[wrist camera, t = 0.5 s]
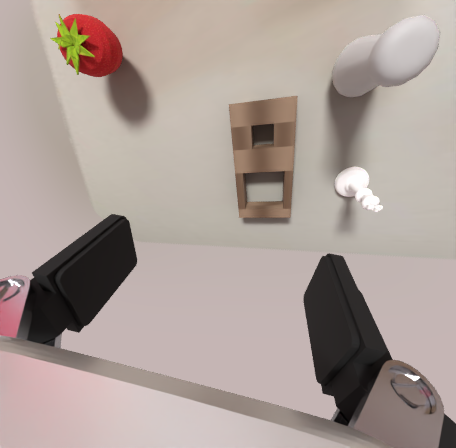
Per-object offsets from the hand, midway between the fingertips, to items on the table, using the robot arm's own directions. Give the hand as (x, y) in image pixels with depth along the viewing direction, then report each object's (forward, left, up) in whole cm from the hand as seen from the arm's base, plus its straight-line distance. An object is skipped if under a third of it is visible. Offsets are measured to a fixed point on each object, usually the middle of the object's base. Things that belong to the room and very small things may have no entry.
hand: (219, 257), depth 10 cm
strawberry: (+20, -14, -28) cm, 37 cm away
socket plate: (-1, +3, -28) cm, 28 cm away
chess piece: (-15, +7, -28) cm, 32 cm away
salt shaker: (-13, -8, -28) cm, 31 cm away
